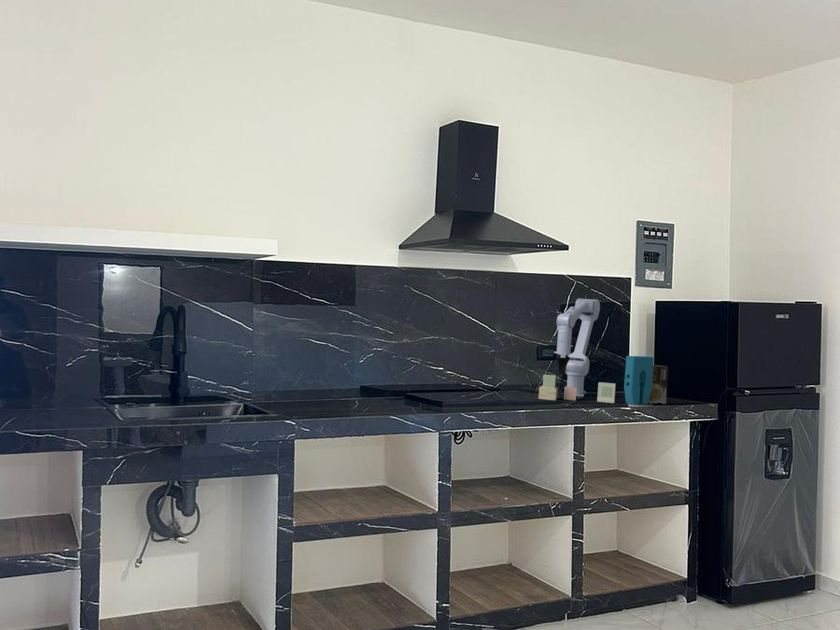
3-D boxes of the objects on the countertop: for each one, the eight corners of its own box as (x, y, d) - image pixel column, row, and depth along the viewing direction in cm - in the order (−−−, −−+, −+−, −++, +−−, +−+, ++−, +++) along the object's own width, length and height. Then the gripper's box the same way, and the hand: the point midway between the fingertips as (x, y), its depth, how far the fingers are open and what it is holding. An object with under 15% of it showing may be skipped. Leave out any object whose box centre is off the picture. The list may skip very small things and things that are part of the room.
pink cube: (563, 398, 374) (564, 386, 374) (575, 399, 373) (576, 387, 373) (563, 399, 369) (564, 387, 369) (575, 400, 369) (576, 388, 368)
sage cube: (542, 386, 371) (543, 374, 370) (554, 387, 370) (555, 375, 370) (542, 387, 366) (543, 375, 365) (554, 388, 365) (555, 376, 365)
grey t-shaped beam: (597, 400, 372) (598, 381, 372) (613, 402, 371) (615, 383, 371) (597, 401, 368) (598, 382, 368) (614, 403, 367) (615, 384, 367)
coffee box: (663, 402, 382) (666, 365, 381) (666, 404, 375) (668, 367, 375) (642, 401, 383) (644, 364, 382) (644, 402, 376) (647, 365, 376)
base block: (540, 397, 372) (541, 385, 372) (556, 398, 371) (557, 387, 370) (538, 399, 366) (539, 387, 365) (555, 400, 364) (556, 388, 364)
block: (642, 402, 376) (646, 356, 375) (651, 404, 371) (654, 357, 371) (621, 403, 370) (625, 355, 369) (630, 404, 365) (633, 357, 365)
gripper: (555, 340, 380) (552, 371, 381) (554, 342, 366) (552, 374, 366) (571, 341, 379) (569, 372, 379) (571, 343, 365) (569, 375, 365)
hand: (561, 373), depth 373 cm, fingers open, 7 cm apart
